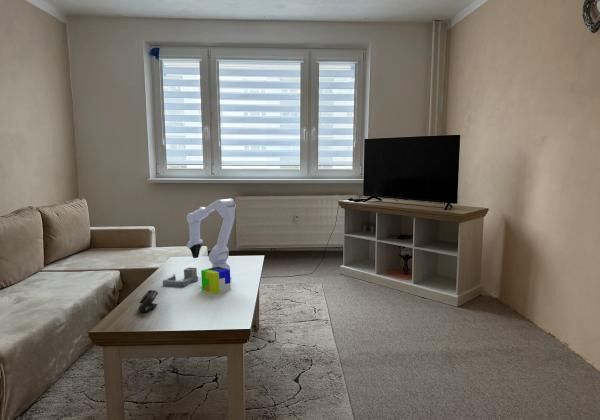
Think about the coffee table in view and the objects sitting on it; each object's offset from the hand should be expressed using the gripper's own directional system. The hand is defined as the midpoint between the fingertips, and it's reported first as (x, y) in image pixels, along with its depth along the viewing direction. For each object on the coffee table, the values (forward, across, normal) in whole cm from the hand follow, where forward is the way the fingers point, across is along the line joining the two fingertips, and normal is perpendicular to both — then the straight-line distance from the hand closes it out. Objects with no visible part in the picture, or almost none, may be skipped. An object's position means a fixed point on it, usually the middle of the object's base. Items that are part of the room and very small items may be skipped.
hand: (195, 257), depth 235 cm
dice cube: (+10, +7, 0) cm, 12 cm away
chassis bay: (+9, +18, 0) cm, 20 cm away
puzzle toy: (+10, +24, +24) cm, 36 cm away
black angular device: (+10, +56, +8) cm, 58 cm away
